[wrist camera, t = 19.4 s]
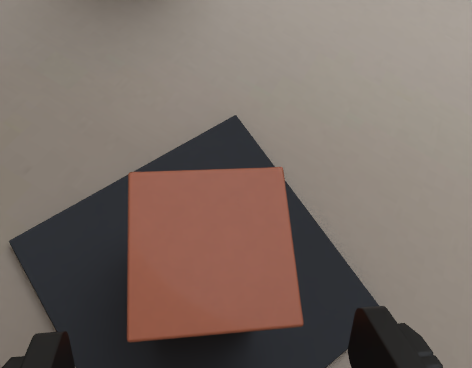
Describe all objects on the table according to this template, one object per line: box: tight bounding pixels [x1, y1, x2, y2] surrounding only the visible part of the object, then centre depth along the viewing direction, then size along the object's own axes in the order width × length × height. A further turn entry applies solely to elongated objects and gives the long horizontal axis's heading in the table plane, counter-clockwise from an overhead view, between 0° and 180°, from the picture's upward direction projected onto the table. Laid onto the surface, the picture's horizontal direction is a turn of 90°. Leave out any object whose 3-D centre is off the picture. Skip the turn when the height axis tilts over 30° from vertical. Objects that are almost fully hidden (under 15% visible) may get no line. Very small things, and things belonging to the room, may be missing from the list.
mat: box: [9, 115, 379, 368], centre depth 20 cm, size 14×14×1 cm
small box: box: [127, 167, 304, 342], centre depth 16 cm, size 5×5×9 cm
